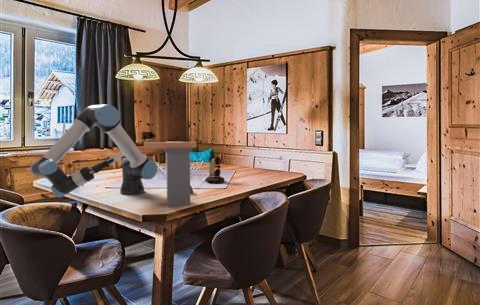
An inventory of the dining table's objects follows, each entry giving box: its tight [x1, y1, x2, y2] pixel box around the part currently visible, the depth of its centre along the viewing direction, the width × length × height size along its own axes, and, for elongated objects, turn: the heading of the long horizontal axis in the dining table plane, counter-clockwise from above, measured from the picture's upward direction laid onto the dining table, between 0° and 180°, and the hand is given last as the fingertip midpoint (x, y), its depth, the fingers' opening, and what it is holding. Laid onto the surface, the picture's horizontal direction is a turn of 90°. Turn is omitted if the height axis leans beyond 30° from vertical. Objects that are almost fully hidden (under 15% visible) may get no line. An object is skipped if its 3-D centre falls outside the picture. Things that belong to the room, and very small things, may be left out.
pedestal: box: [163, 148, 193, 208], centre depth 176 cm, size 12×14×32 cm
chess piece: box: [205, 155, 225, 184], centre depth 242 cm, size 15×15×20 cm
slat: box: [143, 141, 197, 150], centre depth 173 cm, size 4×28×3 cm, turn 107°
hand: (120, 154), depth 166 cm, fingers open, 13 cm apart
